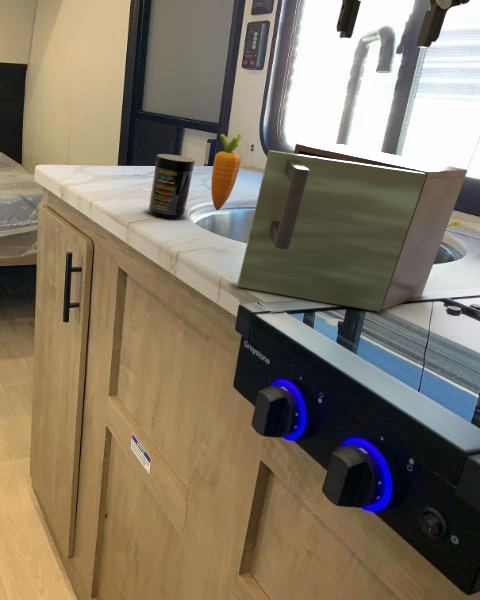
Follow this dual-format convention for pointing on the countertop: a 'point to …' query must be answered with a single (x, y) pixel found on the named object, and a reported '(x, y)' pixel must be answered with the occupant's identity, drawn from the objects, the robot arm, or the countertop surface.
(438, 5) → the robot arm
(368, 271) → the cupboard door
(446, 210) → the cupboard
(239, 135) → the carrot
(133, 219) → the countertop surface
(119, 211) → the countertop surface
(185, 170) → the supplement container
